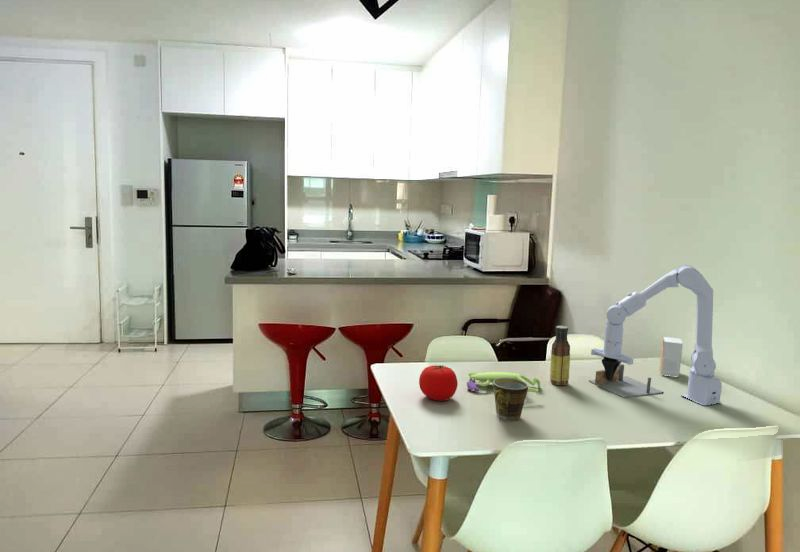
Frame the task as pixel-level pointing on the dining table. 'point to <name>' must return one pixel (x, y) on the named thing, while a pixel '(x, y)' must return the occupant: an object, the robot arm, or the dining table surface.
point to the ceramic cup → (509, 397)
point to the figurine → (493, 376)
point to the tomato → (438, 382)
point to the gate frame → (628, 386)
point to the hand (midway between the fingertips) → (609, 379)
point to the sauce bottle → (560, 358)
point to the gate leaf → (602, 377)
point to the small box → (671, 356)
